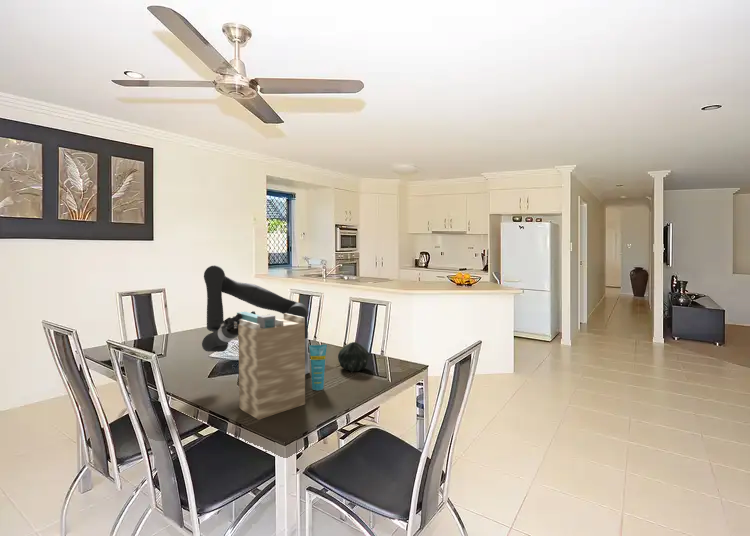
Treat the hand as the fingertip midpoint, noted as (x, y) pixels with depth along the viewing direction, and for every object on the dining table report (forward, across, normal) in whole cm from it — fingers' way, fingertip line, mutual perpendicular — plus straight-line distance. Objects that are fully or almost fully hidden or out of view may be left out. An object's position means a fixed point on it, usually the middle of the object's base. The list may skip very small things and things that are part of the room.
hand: (247, 314), depth 159 cm
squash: (-19, +58, +29) cm, 67 cm away
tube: (-12, +29, +34) cm, 46 cm away
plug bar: (+3, 0, +5) cm, 6 cm away
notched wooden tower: (-9, +5, +35) cm, 36 cm away
